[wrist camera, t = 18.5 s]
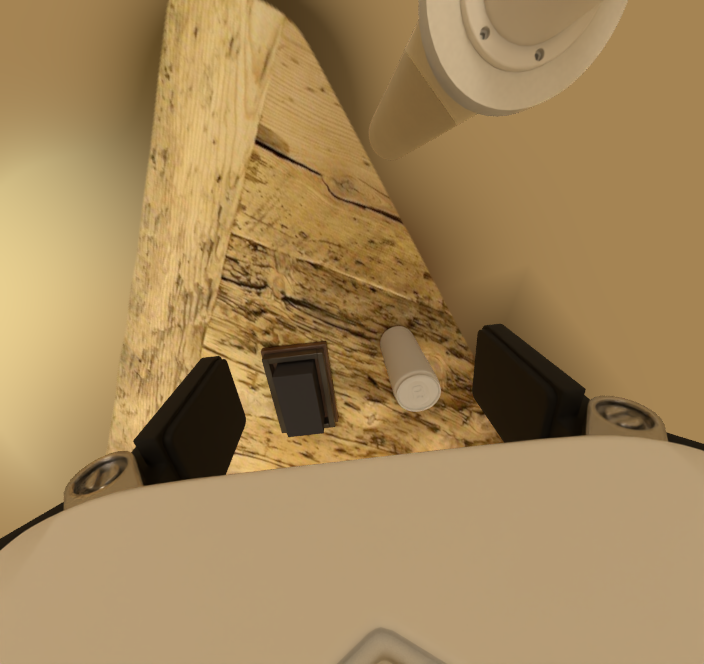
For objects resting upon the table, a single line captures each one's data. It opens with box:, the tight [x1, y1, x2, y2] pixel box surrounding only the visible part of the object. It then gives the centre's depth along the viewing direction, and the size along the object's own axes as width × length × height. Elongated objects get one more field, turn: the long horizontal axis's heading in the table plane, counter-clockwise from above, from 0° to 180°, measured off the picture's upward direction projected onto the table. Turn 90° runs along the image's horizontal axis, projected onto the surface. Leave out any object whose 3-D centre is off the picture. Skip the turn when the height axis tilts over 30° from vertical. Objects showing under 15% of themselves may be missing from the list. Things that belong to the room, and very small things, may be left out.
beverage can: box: [380, 326, 441, 411], centre depth 35 cm, size 5×5×12 cm
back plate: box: [261, 341, 338, 433], centre depth 41 cm, size 14×9×2 cm, turn 6°
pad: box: [272, 359, 325, 437], centre depth 40 cm, size 10×5×4 cm, turn 6°
